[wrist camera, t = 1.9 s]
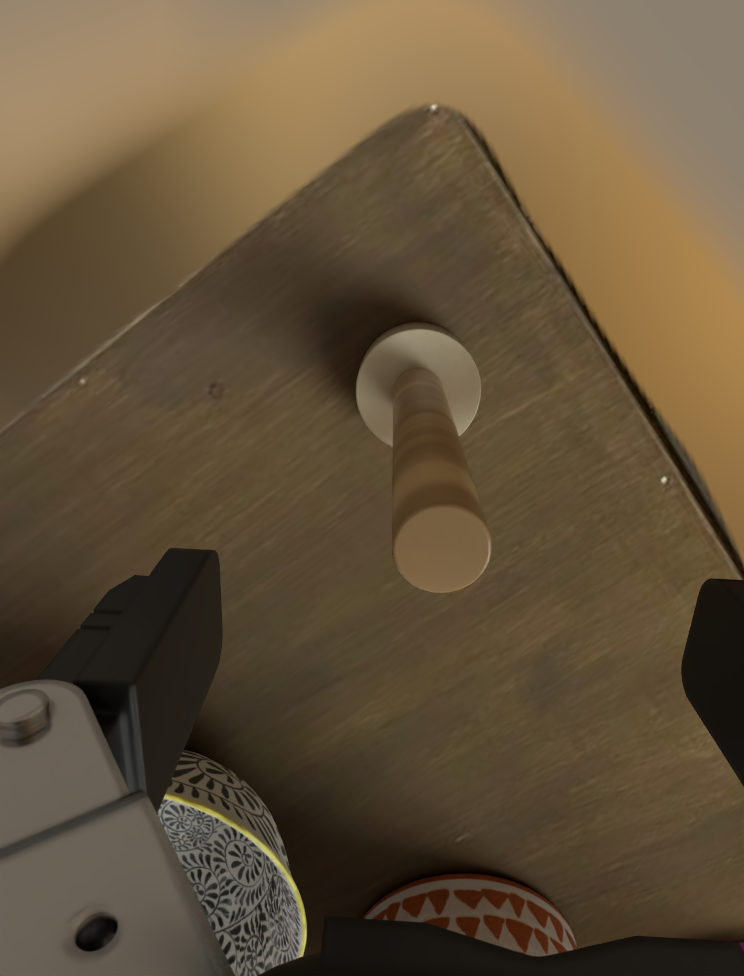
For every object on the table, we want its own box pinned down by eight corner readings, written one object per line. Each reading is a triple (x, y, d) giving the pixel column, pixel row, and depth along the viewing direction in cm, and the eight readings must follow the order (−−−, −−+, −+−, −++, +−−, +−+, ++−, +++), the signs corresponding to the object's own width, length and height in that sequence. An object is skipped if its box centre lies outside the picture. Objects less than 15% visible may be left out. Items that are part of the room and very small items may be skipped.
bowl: (68, 638, 33) (-19, 745, 26) (362, 732, 35) (354, 857, 28) (18, 851, 39) (-66, 987, 32) (273, 924, 40) (248, 1069, 33)
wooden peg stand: (337, 356, 28) (271, 499, 13) (444, 300, 27) (508, 383, 12) (390, 456, 29) (387, 688, 14) (494, 407, 28) (605, 599, 13)
